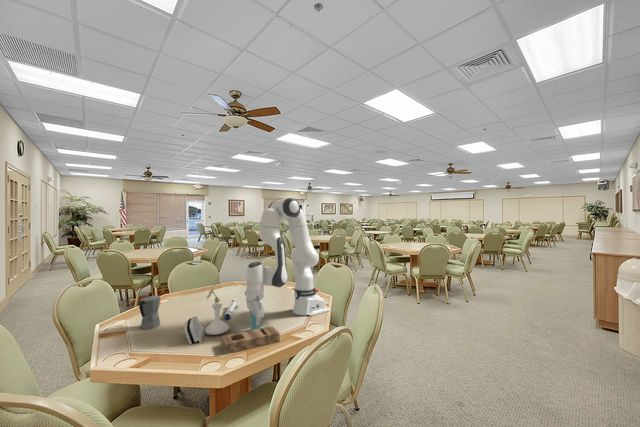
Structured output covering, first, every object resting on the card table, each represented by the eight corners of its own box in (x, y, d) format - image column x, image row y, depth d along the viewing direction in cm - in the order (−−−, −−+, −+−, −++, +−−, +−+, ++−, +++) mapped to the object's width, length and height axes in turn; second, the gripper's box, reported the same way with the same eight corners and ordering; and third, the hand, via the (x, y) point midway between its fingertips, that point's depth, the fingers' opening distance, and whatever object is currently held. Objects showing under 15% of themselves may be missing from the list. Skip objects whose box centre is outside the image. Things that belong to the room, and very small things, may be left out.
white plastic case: (200, 343, 128) (193, 323, 127) (190, 347, 126) (182, 327, 126) (205, 329, 144) (198, 311, 143) (196, 333, 142) (188, 315, 142)
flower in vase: (210, 328, 145) (210, 280, 146) (232, 328, 145) (232, 280, 145) (199, 338, 132) (199, 286, 133) (222, 338, 132) (222, 286, 132)
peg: (257, 328, 144) (257, 308, 145) (259, 330, 141) (259, 310, 141) (251, 329, 143) (250, 310, 143) (252, 332, 139) (252, 312, 140)
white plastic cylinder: (222, 313, 156) (231, 295, 181) (222, 325, 157) (231, 305, 182) (231, 313, 157) (239, 295, 181) (232, 324, 157) (240, 305, 182)
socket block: (272, 334, 137) (272, 325, 137) (279, 341, 128) (279, 333, 128) (221, 344, 125) (221, 336, 125) (225, 354, 117) (225, 344, 117)
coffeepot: (149, 321, 155) (149, 289, 155) (166, 321, 155) (166, 289, 155) (130, 333, 139) (130, 297, 140) (149, 333, 139) (149, 297, 140)
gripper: (267, 298, 135) (267, 327, 134) (255, 289, 153) (255, 314, 152) (254, 300, 132) (254, 329, 131) (244, 290, 150) (244, 316, 149)
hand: (255, 321), depth 142 cm, fingers open, 8 cm apart
